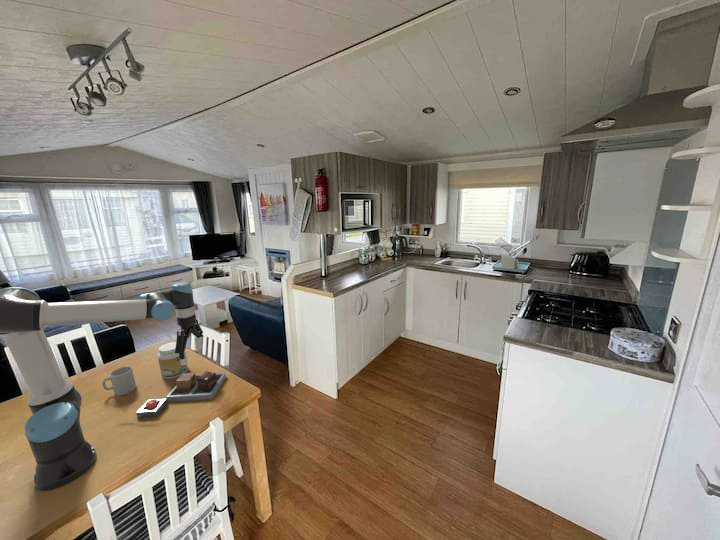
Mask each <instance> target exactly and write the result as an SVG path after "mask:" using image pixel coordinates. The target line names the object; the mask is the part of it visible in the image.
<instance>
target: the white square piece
mask: <svg viewBox="0 0 720 540" xmlns="http://www.w3.org/2000/svg"><path fill="white" fill-rule="evenodd" d="M154 399H155V398H154ZM154 399H152V398H151V399H148V400H146V402H144V403H143V405H141V407H140V408H139V409H138V410H137V411H136V413H135V414H136V418H137V419H141V418H142V419H143V418H157V417H158V416H159V415H160V414H161V412H162V411H163V410H164V409H165V408H166V407H167V405H168V402H167V399H166V398H156V399H155V400H157V404H158V405H157V406H156V407H155V409H147V408H146V403H147V402H148V401H150V400H154Z"/></svg>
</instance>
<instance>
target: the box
mask: <svg viewBox="0 0 720 540" xmlns="http://www.w3.org/2000/svg"><path fill="white" fill-rule="evenodd" d="M216 373H217V372H212V371H204V372H203V373H201V374H202V375H200V376H199V377H198V378H197V381H198V387H199V391H203V392H210V391H211V390H212V389H213V388H214V386H215V385H216V383H217V379H216Z"/></svg>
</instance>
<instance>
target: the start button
mask: <svg viewBox="0 0 720 540" xmlns="http://www.w3.org/2000/svg"><path fill="white" fill-rule="evenodd" d="M149 400H150V401H148V400H147V401H148V402H147V401H146V402H147V403H146V402H145V403H146V408H147V409H155V407H156V406H157V405H158V404H157V400H155V398H154V400H151V399H149Z"/></svg>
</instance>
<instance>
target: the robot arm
mask: <svg viewBox="0 0 720 540" xmlns="http://www.w3.org/2000/svg"><path fill="white" fill-rule="evenodd" d="M192 287H193V286H192V284H191V283H190V282H188V281H180V282H177V283H176V282H175V283H173V284H172V285H171V288H169V289H166V290H165V289H164V290H160V291H159V290H158V291H153V292H147V293H143V294H139V296H138V299H123V300H122V299H119V300H118V299H117V300H116V299H115V300H97V301H95V300H94V301H71V302H70V301H68V302H47V301H46V300H44V299H41V297H40V296H39V294H38V293H36V292H35V291H33V290H32V289H30V288H26V287H20V286H9V287H4V288H1V289H0V337H1V338H3V339H4V341H5V344H6V345H7V347H8V349H9V351H10V353H11V356H12V358H13V360H14V362H15V364H16V366H17V368H18V370H19V372H20V374H21V376H22V378H23V381H24V383H25V384H26V387H27V389H28V392H29V394H30V398H28V400H27V405H28V407H29V409H30V412H31V414H32V415H31V416H30V417H29V418H28V419H27V420H26V422H25V425H24V435H25V437H26V439H27V441H28V443H29V446H30V449H31V451H32V455H33V456H34V460H35V463H36V465H35V466H36V467H35V474H34V476H33V483H34V486H35V488H36V489H37V490H39V491H51V490H55V489H57V488H61V487H62V486H65V485H67V484H69V483H71V482H73V481H74V480H76V479H78V478H79V477H80V476H82V475H83V474H84V473H86V472H87V471H88V470H89V469H90V468H91V467H92V466H93V465H94V463H95V462H96V460H97V452H96V449H95V447H93V446H92V445H91V444H90V443H89V442H88V441H87V440H86V439H85V437H84V433H83V430H82V427H81V421H80V419H81V418H80V417H81V407H82V406H81V405H82V401H83V400H82V395H81V394H80V392H79V391H78V390H77V389H76V388H75V386H74V384H73V383H72V382H68V381H66V380H65V377H64V375H63V373H62V371H61V368H60V365H59V364H58V361H57V359H56V357H55V353H54V352H53V350H52V346H51V345H50V342H49V340H48V338H47V336H46V333H45V331H44V329H46V328H48V327H59V326H72V325H73V326H74V325H85V324H95V323H96V324H97V323H98V324H99V323H108V322H109V323H110V322H123V321H124V322H125V321H137V320H145V319H146V320H147V319H155V320H157V321H162V322H163V321H168V320H169V319H171V318H172V317H173V316H174V314H175V316H176V321H177V325H178V326H179V327H180V330H177V331H176V341H175V342H176V348H175V354H177V353H179V357H180V362H181V365H187V366H188V364H189V363H188V355H187V350H186V346H187V343H188V339H189V338H190V335H191V334H192V335H193V336H194V343H195V350H196V351H202V350H203V345H202V344H203V343H202V337H204V332H203V329H202V326H200V324H199V320H198V319H197V316H196V315H197V314H196V308H195V300H194V293H193V288H192Z"/></svg>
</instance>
